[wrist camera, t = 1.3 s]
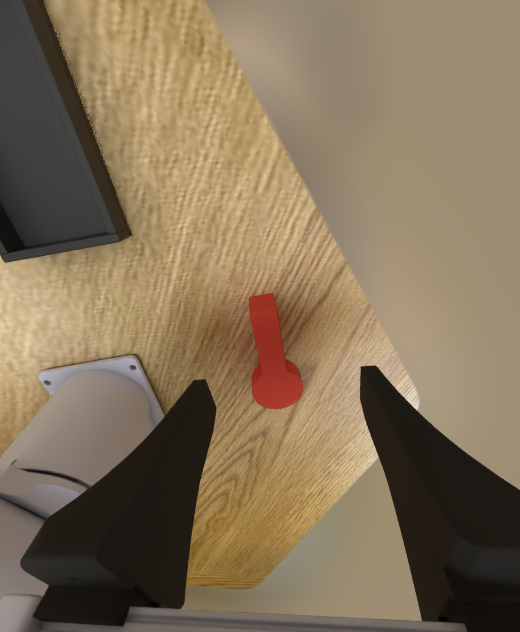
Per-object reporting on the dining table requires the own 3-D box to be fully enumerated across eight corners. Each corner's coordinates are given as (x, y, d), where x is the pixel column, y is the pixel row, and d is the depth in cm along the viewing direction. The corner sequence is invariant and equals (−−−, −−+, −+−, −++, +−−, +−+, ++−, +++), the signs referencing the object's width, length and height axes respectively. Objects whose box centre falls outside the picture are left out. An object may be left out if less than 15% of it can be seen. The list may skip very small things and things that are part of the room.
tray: (131, 235, 18) (120, 241, 16) (26, 254, 18) (4, 263, 16) (19, -62, 12) (-18, -101, 10) (-137, -29, 12) (-200, -62, 10)
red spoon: (232, 299, 20) (231, 317, 18) (288, 289, 20) (295, 306, 18) (255, 399, 25) (257, 424, 22) (301, 391, 25) (308, 415, 22)
